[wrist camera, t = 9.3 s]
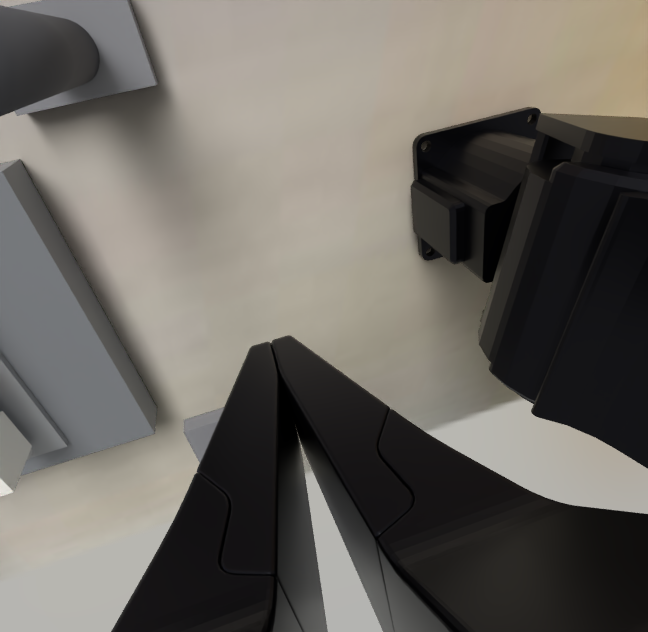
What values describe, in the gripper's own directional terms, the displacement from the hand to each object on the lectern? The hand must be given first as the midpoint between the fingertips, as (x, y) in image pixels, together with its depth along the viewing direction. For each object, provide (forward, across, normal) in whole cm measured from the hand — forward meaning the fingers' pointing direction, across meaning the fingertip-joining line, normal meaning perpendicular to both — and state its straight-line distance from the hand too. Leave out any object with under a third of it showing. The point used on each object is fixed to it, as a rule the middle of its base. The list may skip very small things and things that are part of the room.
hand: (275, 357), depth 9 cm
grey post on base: (+13, +4, -6) cm, 15 cm away
